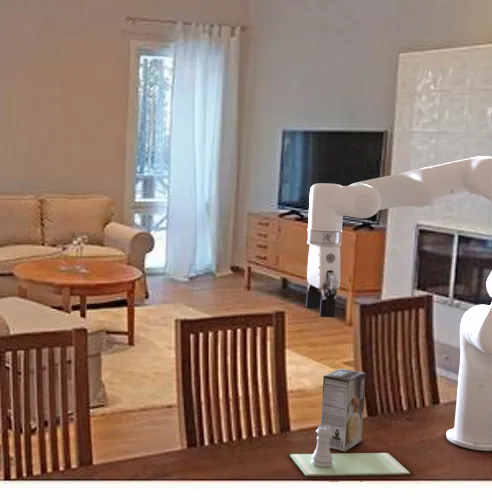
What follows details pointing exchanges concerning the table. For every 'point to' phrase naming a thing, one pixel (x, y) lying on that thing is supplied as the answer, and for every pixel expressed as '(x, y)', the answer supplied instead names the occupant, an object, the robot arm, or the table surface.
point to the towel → (352, 465)
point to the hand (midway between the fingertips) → (319, 312)
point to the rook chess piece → (322, 448)
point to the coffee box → (343, 407)
